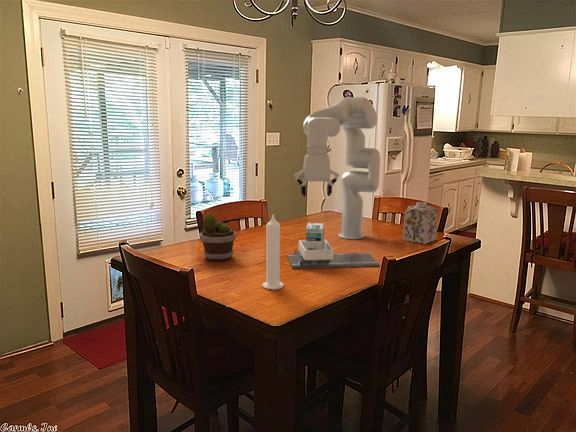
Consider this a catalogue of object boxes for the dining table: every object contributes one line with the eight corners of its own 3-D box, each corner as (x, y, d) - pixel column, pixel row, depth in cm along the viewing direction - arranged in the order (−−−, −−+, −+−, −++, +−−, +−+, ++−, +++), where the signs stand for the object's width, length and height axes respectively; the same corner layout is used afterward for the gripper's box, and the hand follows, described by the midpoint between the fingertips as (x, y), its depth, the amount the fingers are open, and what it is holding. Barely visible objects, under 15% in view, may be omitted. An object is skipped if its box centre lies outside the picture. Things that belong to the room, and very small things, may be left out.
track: (287, 256, 198) (287, 249, 198) (367, 254, 202) (368, 247, 202) (292, 268, 183) (292, 261, 182) (379, 266, 187) (379, 258, 186)
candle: (283, 282, 168) (283, 212, 163) (283, 289, 161) (284, 216, 156) (262, 282, 167) (262, 212, 162) (262, 289, 161) (262, 216, 155)
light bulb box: (322, 256, 186) (323, 229, 183) (305, 255, 186) (305, 228, 184) (323, 248, 196) (324, 222, 194) (307, 248, 197) (307, 222, 194)
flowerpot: (231, 251, 205) (230, 205, 201) (240, 261, 191) (240, 212, 187) (196, 254, 200) (195, 207, 196) (204, 265, 186) (203, 214, 182)
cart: (298, 253, 198) (298, 240, 197) (325, 252, 199) (325, 239, 198) (304, 264, 183) (304, 250, 182) (333, 263, 185) (333, 249, 184)
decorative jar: (413, 236, 235) (415, 199, 231) (436, 240, 227) (439, 202, 224) (402, 240, 226) (404, 202, 222) (425, 245, 218) (428, 206, 215)
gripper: (337, 150, 187) (336, 193, 191) (293, 150, 185) (292, 194, 189) (341, 152, 180) (340, 197, 184) (295, 152, 178) (295, 198, 182)
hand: (316, 195), depth 187 cm, fingers open, 9 cm apart
